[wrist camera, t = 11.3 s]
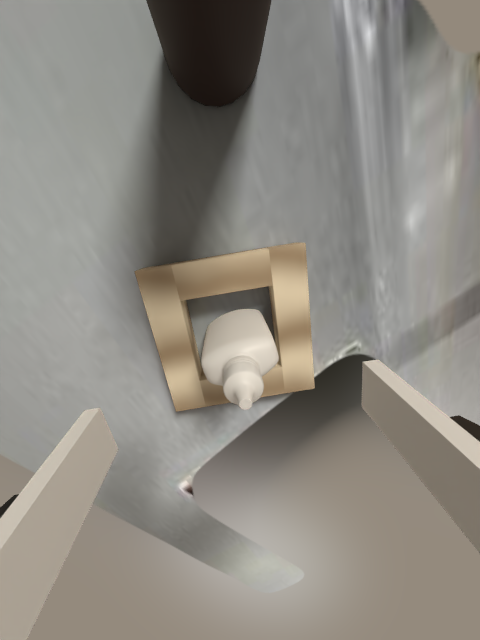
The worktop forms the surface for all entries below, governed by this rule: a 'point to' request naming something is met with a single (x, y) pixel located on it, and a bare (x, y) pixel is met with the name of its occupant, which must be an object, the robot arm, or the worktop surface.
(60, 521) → the robot arm
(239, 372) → the eye dropper bottle
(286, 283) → the square wooden frame
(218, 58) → the vinegar
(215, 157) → the worktop surface
